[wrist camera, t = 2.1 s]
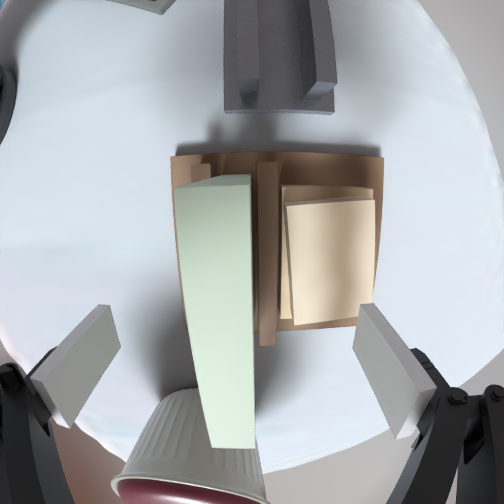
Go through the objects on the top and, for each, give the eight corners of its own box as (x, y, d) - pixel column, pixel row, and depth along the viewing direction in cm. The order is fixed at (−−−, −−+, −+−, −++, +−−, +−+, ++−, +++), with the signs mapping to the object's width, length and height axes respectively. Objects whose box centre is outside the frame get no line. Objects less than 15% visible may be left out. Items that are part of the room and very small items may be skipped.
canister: (135, 358, 32) (72, 492, 12) (275, 373, 33) (291, 531, 12) (155, 435, 37) (127, 536, 17) (261, 446, 38) (264, 555, 18)
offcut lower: (278, 306, 28) (280, 318, 26) (279, 184, 24) (282, 186, 22) (352, 302, 28) (360, 313, 26) (362, 186, 24) (373, 189, 22)
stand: (225, 113, 24) (215, 93, 17) (226, -23, 18) (220, -62, 11) (330, 114, 24) (357, 98, 17) (316, -20, 18) (330, -57, 11)
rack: (189, 324, 30) (178, 353, 25) (174, 157, 25) (156, 155, 20) (362, 318, 30) (380, 344, 25) (377, 157, 25) (403, 157, 20)
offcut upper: (290, 311, 25) (294, 325, 23) (282, 202, 22) (286, 206, 20) (361, 301, 25) (370, 313, 23) (362, 196, 22) (374, 199, 20)
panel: (229, 315, 28) (211, 447, 13) (222, 174, 24) (173, 188, 9) (253, 315, 28) (255, 448, 13) (250, 174, 24) (249, 185, 9)
